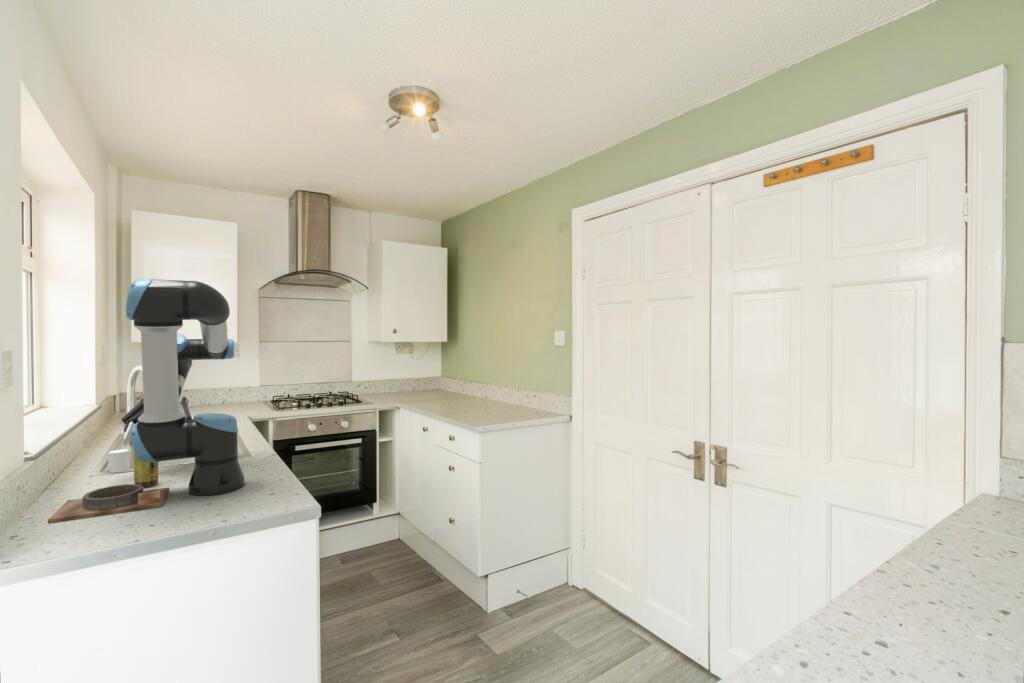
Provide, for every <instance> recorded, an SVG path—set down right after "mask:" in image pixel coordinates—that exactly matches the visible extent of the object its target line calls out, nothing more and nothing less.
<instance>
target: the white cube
mask: <svg viewBox="0 0 1024 683" xmlns="http://www.w3.org/2000/svg"><path fill="white" fill-rule="evenodd" d="M131 456H132V449H130V448H120V449H114V450H110V451H107V452H106V457H107V458H106V459H107V465H108V472H109V473H111V474H114V472H118V473H123V472H127V471H129V470H130V469H131V460H132V459H131Z"/></svg>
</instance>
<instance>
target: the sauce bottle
mask: <svg viewBox="0 0 1024 683" xmlns="http://www.w3.org/2000/svg"><path fill="white" fill-rule="evenodd" d="M158 479H159V462H141V461H139V460H138V459H137V458H136V456H135V453H134V452H133V482H134V484H139V485H141V486H143V488H149V487H153V486H155V485H158V482H159V481H158Z"/></svg>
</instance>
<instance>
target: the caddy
mask: <svg viewBox="0 0 1024 683" xmlns="http://www.w3.org/2000/svg"><path fill="white" fill-rule="evenodd" d="M169 492H170V487H169V486H168V487H162V488H161V487H160V488H154V489H146V490H144V487H143V486H141V485H139V484H135V483H134V484H133V483H126V484H117V485H116V484H115V485H111V486H110V485H109V486H106V487H102V488H97V489H93V490H91V491H89V492H86V493H85V494H84V495H83V496H82V498H76V499H69V500H66V501H65V502H64V503H63V504H62V505H61V506H60V508H58V509H57V510H56V511H55V512H54V513H53V514H52V515H51V516H50V517H49V518H48V519H47V524H54V523H59V522H66V521H72V520H80V519H88V518H94V517H95V518H96V517H101V516H109V515H116V514H122V513H128V512H136V511H142V510H143V511H144V510H150V509H158V508H162V507H163V505H164V503H165V500H166V498H167V497H168V495H169Z"/></svg>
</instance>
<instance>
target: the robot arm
mask: <svg viewBox="0 0 1024 683" xmlns="http://www.w3.org/2000/svg"><path fill="white" fill-rule="evenodd" d="M127 292H128V293H127V296H126V302H125V303H126V304H125V313H126V315H125V317H126V319H128V320H131V321H133V327H134V328H136V329H137V330H138V331H139V332H140V340H141V341H140V342H141V345H140V346H141V347H140V348H141V368H142V371H141V372H142V392H143V393H142V394H143V395H142V396H143V397H142V398H141V399H140V401H139V402H138V403H137V404H136V405H135V406H134V407H132V409H131V410H129V411H128V412H127V413H126V414H125V415H124V416H123V417H122V418H121V422H122V423H123V424H124V425H125V426H124V429H123V432H124V436H123V438H122V439H123V441H124V442H125V444H129V443H130V442H131V445H132V449H133V454H134V453H135V456H136V458H137V459H138V460H139V461H141V462H158V463H159V462H164V461H173V460H182V459H191V458H194V468H193V471H192V474H191V476H190V479H189V483H188V493H189V494H190V495H192V496H213V495H221V494H225V493H228V492H233V491H236V490H239V489H241V488H243V487H244V485H245V475H244V473H243V470H242V467H241V465H240V462H239V453H238V450H239V448H238V443H239V442H238V432H239V429H238V421H237V418H236V417H235V416H234V415H230V414H227V413H217V412H215V413H213V412H207V413H206V412H204V413H197V414H194V416H193V418H192V414H191V413H190V412H191V411H190V409H189V407H188V404H189V401H188V399H187V397H186V396H183V397H181V394H182V391H183V389H184V386H185V383H186V380H187V377H188V375H189V373H190V370H191V367H192V366H193V364H192V363H193V361H199V360H200V361H201V360H202V361H205V360H230V359H233V358H234V356H235V340H234V339H232V338H229V336H228V326H227V325H228V323H227V320H228V319H229V318H230V317H229V316H230V313H231V312H230V305H229V303H228V301H227V299H226V298H225V296H224V295H222V293H221V292H220V291H218V290H217V289H216V288H214V287H212V286H211V285H209V284H206V283H204V282H200V281H197V280H179V279H178V280H176V279H175V280H174V279H155V278H143V279H142V278H141V279H135V280H134V281H132V282H131V284H130V286H129V289H128V291H127ZM185 320H187V321H188V320H189V321H191V320H194V321H195V320H196V321H198V322H199V324H200V325H199V327H200V331H201V337H202V338H188V339H187V337H186V336H185V335H184V334H182V333H178V331H179V330H180V329H181V328H182V327H184V325H183V324H184V322H183V321H185ZM180 397H181V398H180ZM180 406H181V407H182V409H183V411H182V410H181V409H180Z"/></svg>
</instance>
